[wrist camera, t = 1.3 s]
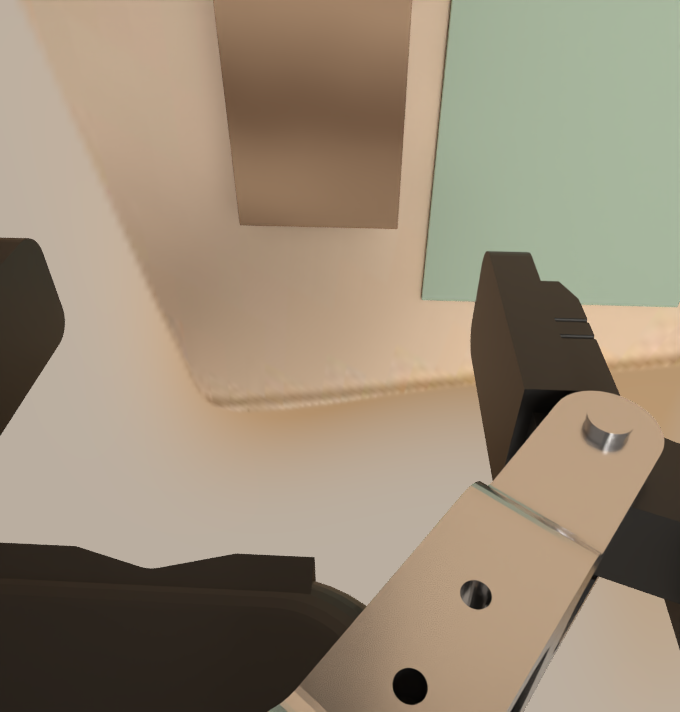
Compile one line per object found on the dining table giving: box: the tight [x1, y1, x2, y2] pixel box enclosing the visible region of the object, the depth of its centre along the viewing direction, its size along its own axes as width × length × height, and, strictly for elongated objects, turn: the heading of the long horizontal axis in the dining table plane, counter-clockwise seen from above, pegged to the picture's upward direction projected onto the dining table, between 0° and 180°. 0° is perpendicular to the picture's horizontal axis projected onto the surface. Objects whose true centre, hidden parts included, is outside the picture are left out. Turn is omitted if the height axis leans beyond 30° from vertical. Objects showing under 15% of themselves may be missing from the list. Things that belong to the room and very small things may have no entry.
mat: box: [422, 0, 680, 307], centre depth 28 cm, size 20×14×1 cm
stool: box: [213, 0, 412, 229], centre depth 23 cm, size 10×6×8 cm, turn 0°
